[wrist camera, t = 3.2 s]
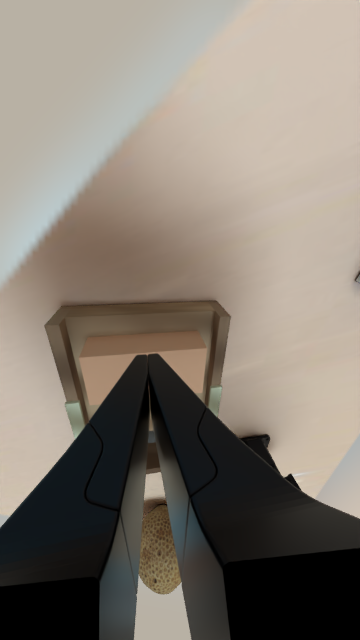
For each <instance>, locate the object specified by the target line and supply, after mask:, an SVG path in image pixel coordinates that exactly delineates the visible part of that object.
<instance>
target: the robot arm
mask: <svg viewBox="0 0 360 640" xmlns="http://www.w3.org/2000/svg"><path fill="white" fill-rule="evenodd" d="M149 396H150V398H149ZM150 412H151V419H152V425H153V430H154V436H155V441H156V447H157V452H158V458H159V463H160V469H161V474H162V480H163V485H164V490H165V496H166V501H167V507H168V512H169V518H170V523H171V529H172V534H173V540H174V545H175V551H176V556H177V562H178V567H179V573H180V578H181V582H182V590H183V595H184V600H185V606H186V611H187V617H188V622H189V628H190V633H191V639H192V640H360V519H359V518H357V517H354V516H352V515H350V514H347V513H345V512H342V511H340V510H338V509H335V508H333V507H330V506H328V505H326V504H323V503H321V502H319V501H317V500H315V499H314V498H312V497H310V496H308V495H307V494H305V493H304V492H302V491H301V489H300V487H299V486H298V484H297V482H296V481H295V479H294V478H293V476H292V474H289V475H288V476H287V477H283V476H282V475H281V474H280V472H279V470H278V468H277V467H276V465H275V462H274V461H273V459H272V457H271V455H270V453H269V451H268V450H267V447H268V444H269V441H270V437H269V435H264V436H258V437H251V438H245V439H239V438H238V437H237V436H236V435H235V434H234V433H233V432H232V431H231V430H229V429H228V428H227V427H226V426H225V425H224V424H223V423H222V422H221V421H220V419H219V418H218V417H217V416H216V415H215V414H214V413H213V412H212V411H211V410H210V409H209V408H207V406H206V405H205V404H204V402H203V401H202V400H201V399H200V398H199V397H198V396H197V395H196V394H195V393H194V392H193V391H192V389H191V388H190V387H189V386H188V385H187V384H186V383H185V382H184V381H183V380H182V379H181V378H180V376H179V375H178V374H177V373H176V372H175V371H174V370H173V369H172V368H171V367H170V366H169V365H168V363H167V362H166V361H165V360H164V359H163V358H162V357H161V356H160V355H159V354H158V353H155V354H148V359H147V355H146V354H142V355H136V356H135V357H134V359H133V360H132V362H131V363H130V364H129V366H128V367H127V369H126V370H125V371H124V373H123V374H122V376H121V377H120V378H119V380H118V381H117V382H116V384H115V385H114V387H113V388H112V389H111V391H110V392H109V394H108V395H107V396H106V398H105V399H104V401H103V402H102V403H101V405H100V406H99V407H98V409H97V410H96V412H95V413H94V414H93V416H92V417H91V419H90V420H89V423H87V424H86V425H85V427H84V428H83V430H82V431H81V432H80V434H79V435H78V436H77V438H76V439H75V440H74V442H73V443H72V444H71V446H70V447H69V448H68V449H67V451H66V452H65V453H64V454H63V456H62V457H61V458H60V459H59V460H58V462H57V463H56V464H55V465H54V466H53V468H52V469H51V470H50V471H49V472H48V474H47V475H46V476H45V477H44V478H43V479H42V480H41V482H40V483H39V484H38V485H37V486H36V487H35V488H34V490H33V491H32V492H31V493H30V494H29V495H28V496H27V498H26V499H25V500H24V501H23V502H22V503H21V505H20V506H19V507H18V508H17V509H16V510H15V511H14V513H13V514H12V515H11V516H10V517H9V518H8V519H7V521H6V522H5V523H4V524H3V525H2V526H1V527H0V640H134V629H135V615H136V602H137V601H136V600H137V596H136V594H137V588H138V574H139V561H140V547H141V533H142V520H143V506H144V492H145V479H146V465H147V451H148V438H149V424H150Z"/></svg>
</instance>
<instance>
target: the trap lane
mask: <svg viewBox="0 0 360 640" xmlns="http://www.w3.org/2000/svg"><path fill="white" fill-rule="evenodd" d="M230 319H231V316H230V315H229V314H228V313H227V312H226V311H225V309H224V308H223V307H222V306H221V305H220V304H219V303H218V302H217V301H201V302H173V303H145V304H117V305H89V306H61V307H60V309H59V310H58V311H57V312H56V313H55V314H54V315H53V316H52V318H51V319H50V320H49V321H48V322H47V323H46V324H45V329H46V332H47V336H48V339H49V342H50V346H51V349H52V353H53V356H54V360H55V363H56V366H57V370H58V373H59V377H60V380H61V383H62V387H63V390H64V394H65V397H66V400H67V402H65V407H66V410H67V414H68V417H69V420H70V424H71V427H72V430H73V434H74V437H75V439H76V438H77V436H78V435H79V434H80V432H81V431H82V430H83V428H84V427H85V425H86V424H87V423H89V420H90V419H91V417H92V416H93V414H94V413H95V412H96V410H97V409H98V407H99V406H100V405H101V404H99V405H89V400H88V396H87V392H86V387H85V383H84V379H83V374H82V370H81V365H80V361H79V356H80V354H81V352H82V349H83V347H84V345H85V342H86V340H87V338H88V337H101V336H117V335H134V334H151V333H167V332H184V331H199V333H200V335H201V337H202V339H203V341H204V343H205V345H206V347H207V355H206V364H205V374H204V383H203V392H202V393H195V394H196V395H197V396H198V397H199V398H200V399H201V400H202V401H203V402H204V404H205V405H206V406H207V408H209V409H210V410H211V411H212V412H213V413H214V414H215V415H216V416H218V410H219V404H220V398H221V391H222V386H221V385H220V384H221V377H222V371H223V364H224V358H225V351H226V345H227V338H228V332H229V325H230ZM157 472H161V469H160V463H159V458H158V452H157V447H156V441H155V436H154V430H153V425H152V419H151V412H150V424H149V438H148V451H147V465H146V474H151V473H157Z"/></svg>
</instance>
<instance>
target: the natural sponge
mask: <svg viewBox="0 0 360 640" xmlns="http://www.w3.org/2000/svg"><path fill="white" fill-rule="evenodd" d="M139 576H140V578H141V579H142V581H143V583H144V584H145V585H146V586H147V587H148V588H150V589H151V590H152V591H154V592H156V593H158V594H169V593H170V592H172V591H173V590H174V589H175V588H176V587H177V586H178V585H179V584H180V583H181V578H180V573H179V567H178V562H177V556H176V551H175V545H174V540H173V534H172V529H171V523H170V518H169V512H168V507H167V506H166V505H158V506H157V507H155V508H154V509H153V510H152V511H151V512H150V513H149V514H148V515H147V516H146V517H145V518H144V520H143V522H142V533H141V547H140V561H139Z"/></svg>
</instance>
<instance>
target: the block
mask: <svg viewBox="0 0 360 640" xmlns="http://www.w3.org/2000/svg"><path fill="white" fill-rule="evenodd" d="M155 353H158V354H159V355H160V356H161V357H162V358H163V359H164V360H165V361H166V362H167V363H168V365H169V366H170V367H171V368H172V369H173V370H174V371H175V372H176V373H177V374H178V375H179V376H180V378H181V379H182V380H183V381H184V382H185V383H186V384H187V385H188V386H189V387H190V388H191V389H192V391H193V392H194V393H202V392H203V383H204V374H205V364H206V355H207V347H206V345H205V343H204V341H203V339H202V337H201V335H200V333H199V331H184V332H167V333H151V334H134V335H117V336H101V337H88V338H87V340H86V342H85V345H84V347H83V349H82V352H81V354H80V356H79V361H80V365H81V370H82V374H83V379H84V383H85V387H86V392H87V396H88V400H89V405H99V404H101V403H102V402H103V401H104V399H105V398H106V396H107V395H108V394H109V392H110V391H111V389H112V388H113V387H114V385H115V384H116V382H117V381H118V380H119V378H120V377H121V376H122V374H123V373H124V371H125V370H126V369H127V367H128V366H129V364H130V363H131V362H132V360H133V359H134V357H135V356H136V355H142V354H146V355H147V359H148V354H155ZM149 398H150V396H149Z"/></svg>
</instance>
